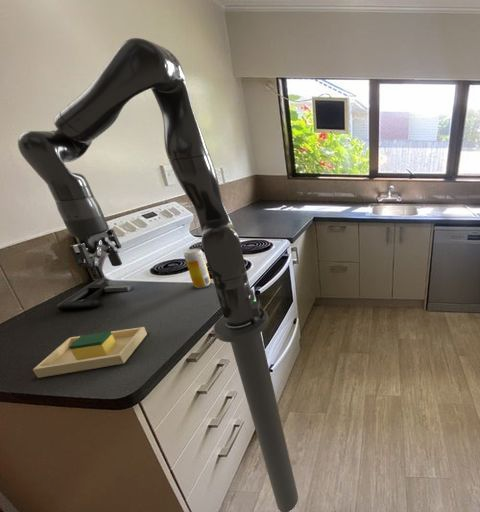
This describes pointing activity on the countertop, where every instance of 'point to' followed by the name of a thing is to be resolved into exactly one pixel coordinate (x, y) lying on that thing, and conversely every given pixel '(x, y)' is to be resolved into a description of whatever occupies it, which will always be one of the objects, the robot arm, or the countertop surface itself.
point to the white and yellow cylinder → (197, 267)
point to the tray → (67, 363)
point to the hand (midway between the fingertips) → (108, 271)
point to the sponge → (93, 345)
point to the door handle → (94, 291)
